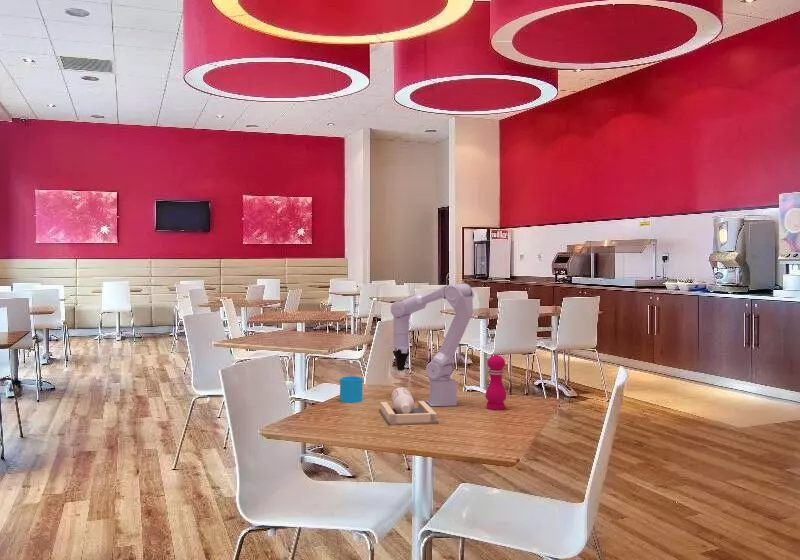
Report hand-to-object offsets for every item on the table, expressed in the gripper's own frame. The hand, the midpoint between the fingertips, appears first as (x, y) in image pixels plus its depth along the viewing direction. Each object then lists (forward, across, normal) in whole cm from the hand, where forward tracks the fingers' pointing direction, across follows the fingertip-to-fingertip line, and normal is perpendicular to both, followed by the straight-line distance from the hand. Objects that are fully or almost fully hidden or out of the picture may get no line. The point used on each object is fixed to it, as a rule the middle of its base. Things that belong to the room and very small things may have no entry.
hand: (400, 370), depth 253 cm
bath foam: (+6, +18, -3) cm, 19 cm away
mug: (+11, 0, -18) cm, 21 cm away
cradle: (+10, +30, -3) cm, 32 cm away
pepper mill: (+11, +21, +30) cm, 38 cm away
